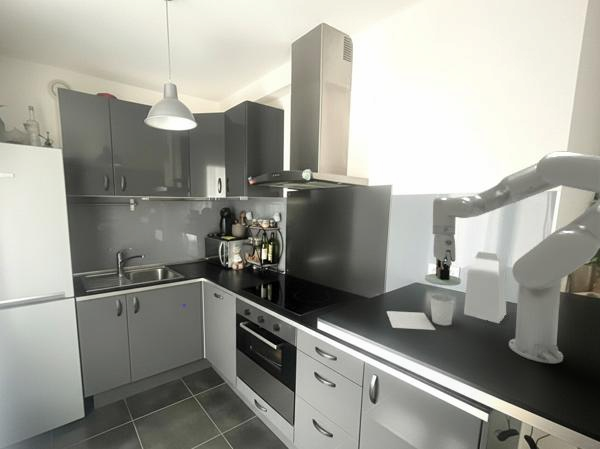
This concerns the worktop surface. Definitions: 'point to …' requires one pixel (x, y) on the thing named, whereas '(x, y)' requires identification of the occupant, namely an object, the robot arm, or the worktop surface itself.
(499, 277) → the milk
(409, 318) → the mat
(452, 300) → the white cup
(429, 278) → the lid
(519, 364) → the worktop surface
